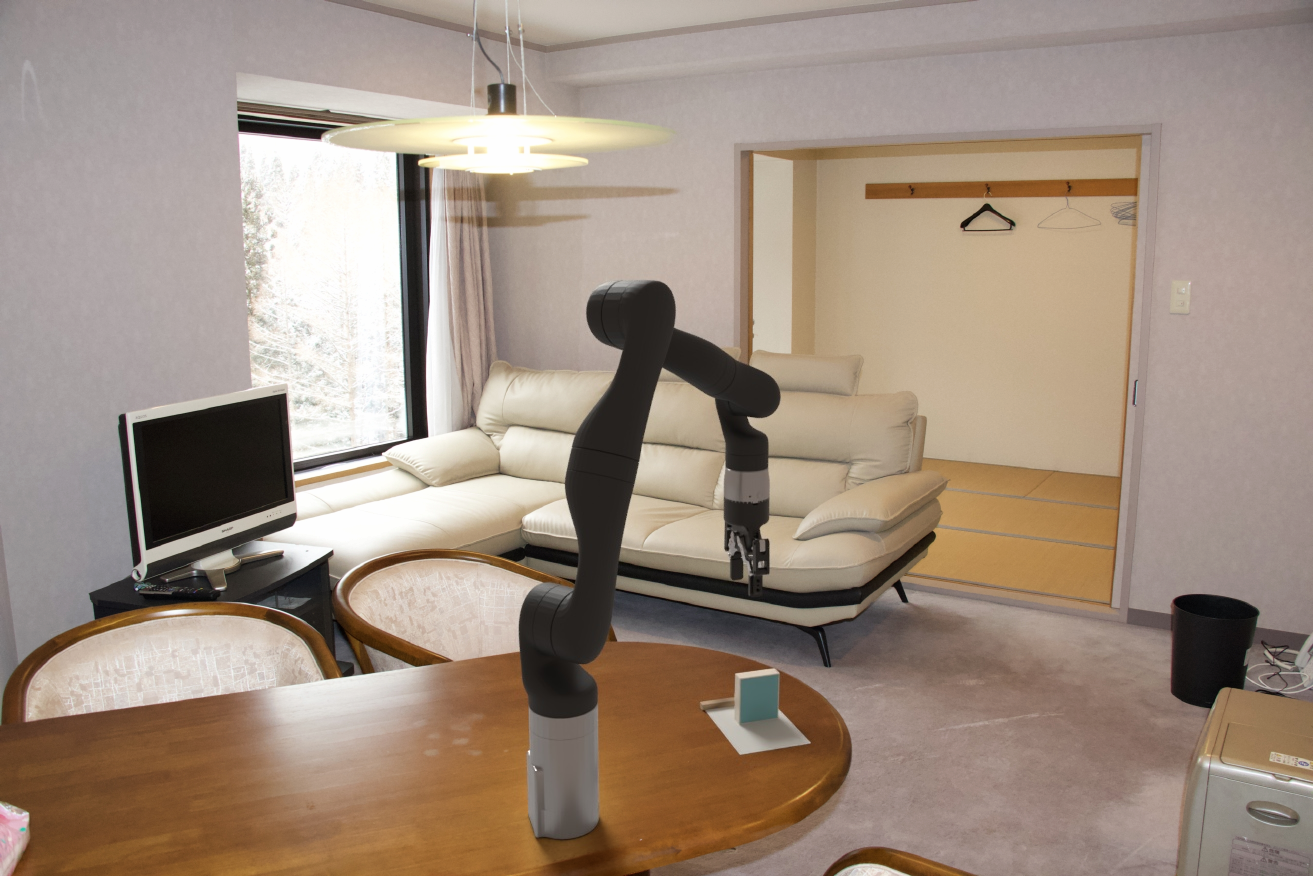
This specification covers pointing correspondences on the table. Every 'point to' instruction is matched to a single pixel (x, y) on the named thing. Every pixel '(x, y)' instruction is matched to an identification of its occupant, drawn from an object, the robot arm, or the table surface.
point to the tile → (756, 696)
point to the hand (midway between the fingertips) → (745, 587)
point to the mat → (757, 732)
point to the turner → (717, 703)
